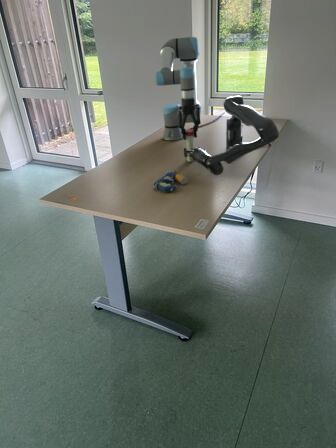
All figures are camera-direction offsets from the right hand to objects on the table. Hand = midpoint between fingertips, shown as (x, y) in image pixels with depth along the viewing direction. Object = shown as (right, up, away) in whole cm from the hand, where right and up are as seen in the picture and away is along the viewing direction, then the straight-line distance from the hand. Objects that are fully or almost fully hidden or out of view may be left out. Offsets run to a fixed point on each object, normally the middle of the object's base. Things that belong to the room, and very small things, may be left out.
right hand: (188, 148), depth 205 cm
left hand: (0, +5, -6) cm, 8 cm away
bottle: (+1, -7, +1) cm, 7 cm away
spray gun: (-11, -26, -28) cm, 39 cm away
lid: (0, +9, -8) cm, 12 cm away
